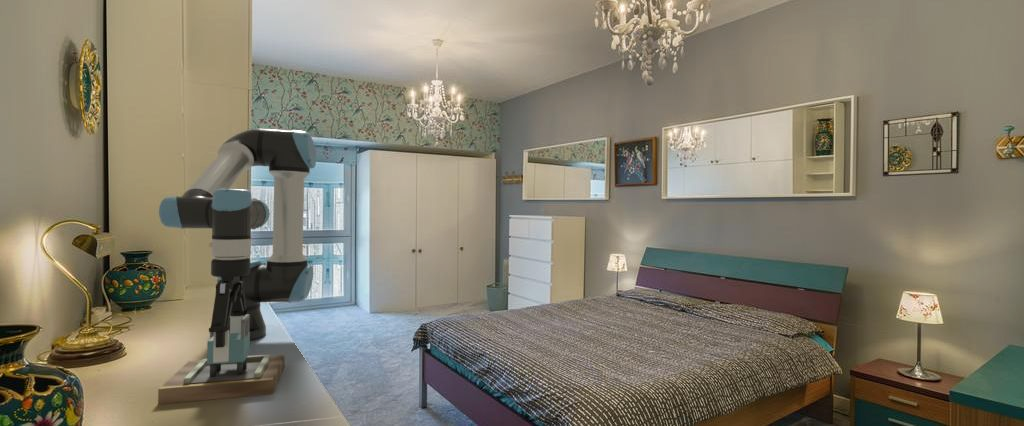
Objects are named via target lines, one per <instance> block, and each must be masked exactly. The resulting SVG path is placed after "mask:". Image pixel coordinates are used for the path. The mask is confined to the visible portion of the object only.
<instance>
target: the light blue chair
mask: <svg viewBox="0 0 1024 426" xmlns="http://www.w3.org/2000/svg"><path fill="white" fill-rule="evenodd" d="M249 317H250V314H246V315H245V316H244V317H243V318H242V319H241V333H229V361H228V362H215V363H213V341H214V336H213V337H212V338H211V339H210V338H209V339H208V340H207V342H206V343H207V345H206V346H207V347H206V349H207V350H206V351H207V353H206V354H207V356H206V359H207V364H210V377H215V376H216V371H220V370H221V363H235V362H237V375H242V374H243V369H246V368H247V356H250V343H251V342H250V341H251V340H250V332H249Z"/></svg>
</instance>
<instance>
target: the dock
mask: <svg viewBox="0 0 1024 426" xmlns="http://www.w3.org/2000/svg"><path fill="white" fill-rule="evenodd" d="M285 357H286V356H285V354H280V355H271V354H270V353H269V354H257V355H248V356H247V368H246V369H243V374H242V375H237V362H235V363H221V370H220V371H216V376H215V377H210V364H207V358H203V359H201V360H191V361H187V362H186V363H185V364H184V365H183V366H182V367H181V368H180V369H179V370H177V371H176V373H174V374H173V375H172V376H171V377H170V378H169V379H168V380H166V382H165V383H163V384H162V385H161V386H159V388H158V390H157V391H158V393H157V394H158V395H157V404H158V405H161V404H162V405H165V404H175V403H185V402H195V401H197V402H198V401H206V400H207V401H209V400H218V399H231V398H232V399H233V398H241V397H242V398H243V397H252V396H253V397H254V396H263V395H273V394H274V391H275V389H276V388H277V384H278V382H279V380H280V378H281V376H282V374H283V371H284V369H285V364H286V363H285Z"/></svg>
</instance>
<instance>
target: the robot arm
mask: <svg viewBox="0 0 1024 426" xmlns="http://www.w3.org/2000/svg"><path fill="white" fill-rule="evenodd" d="M316 161H317V155H316V149H315V143H314V140H313V138H312V135H311V134H310V133H308V132H307V131H305V130H304V131H303V130H297V129H277V128H276V129H275V128H252V129H247V130H245V131H241V132H239V133H237V134H234V136H232V137H230V138H229V139H227V140H226V141H225V142H223V144H222V145H221V146H220V147H219V149H218V151H217V156H216V157H215V159H213V160H212V162H211V163H210V164H209V165H208V166H207V167H206V169H204V170H203V172H202V173H201V174H200V175H199V176H198V177H197V179H196V180H195V181H194V182H193V183H192V184H191V185H190V186H189V188H188V189H186V191H185V192H184V193H183V194H182V195H181V196H178V195H174V196H167V197H164V198H162V200H161V202H160V204H159V207H158V216H159V219H160V222H161V224H162V225H163V226H164V227H166V228H171V229H172V228H175V229H182V230H184V229H211V242H210V243H208V246H209V248H211V256H212V257H213V259H212V260H211V261H210V274H211V276H213V277H216V278H217V279H216V281H217V283H216V285H215V294H214V295H215V297H214V303H213V309H212V316H211V324H210V327H208V333H209V340H210V339H211V338H212V337H213V336H214V341H213V363H215V362H228V361H229V333H241V319H242V318H243V317H244V316H245V315H246V314H250V317H249V332H250V341H252V340H255V339H260V338H262V337H265V335H266V334H267V325H266V322H265V319H264V316H263V314H262V312H261V303H289V304H291V303H298V302H304V300H306V299H307V298H308V296H309V294H310V292H311V288H312V284H313V278H314V266H313V265H312V264H309V263H308V262H309V261H308V259H309V258H308V257H306V256H305V255H304V253H303V252H304V251H303V250H304V248H303V246H304V245H303V244H304V240H303V239H304V209H305V207H304V206H305V205H304V204H305V199H304V198H305V179H306V178H307V177H308V176H310V173H311V172H310V169H311V170H312V169H315V167H316V164H317V163H316ZM252 167H268V173H269V174H270V175H271V176H273V217H272V218H273V220H272V223H273V227H272V254H271V256H269V257H268V258H267V260H266V264H263V262H262V260H260V259H250V258H249V257H250V256H251V255H252V251H251V250H252V249H251V248H252V244H251V243H252V242H251V241H252V239H251V235H252V234H251V233H252V232H251V231H252V230H256V229H259V228H261V227H263V226H265V225H266V224H267V222H268V220H269V219H270V214H271V213H270V209H269V206H268V205H267V204H266V203H265V202H264V201H262V200H260V199H257V198H253V197H252V192H251V191H250V190H249V189H238V188H237V189H236V188H233V186H234V184H235V183H236V182H237V181H238V179H239V178H240V176H242V174H243V172H246V171H249V170H250V169H251V168H252Z"/></svg>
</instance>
